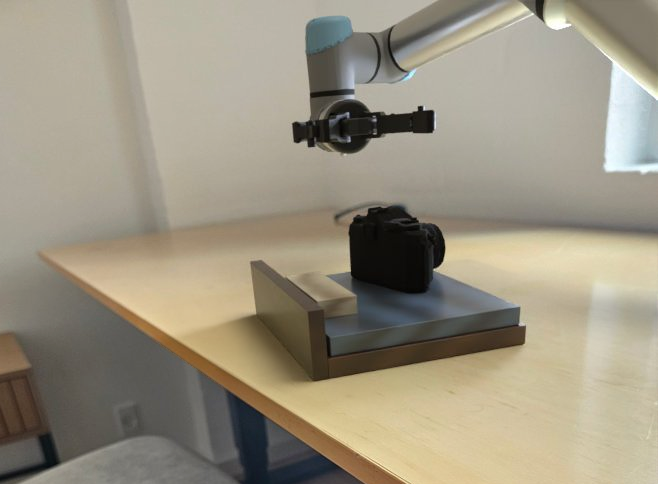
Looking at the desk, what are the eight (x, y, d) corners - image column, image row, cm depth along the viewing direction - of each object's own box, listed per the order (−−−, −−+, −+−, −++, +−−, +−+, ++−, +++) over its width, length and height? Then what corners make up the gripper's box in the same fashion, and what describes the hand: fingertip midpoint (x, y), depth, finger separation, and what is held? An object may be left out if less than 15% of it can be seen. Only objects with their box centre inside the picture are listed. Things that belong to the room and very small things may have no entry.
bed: (416, 289, 94) (416, 239, 91) (525, 343, 70) (529, 277, 67) (256, 313, 89) (249, 261, 86) (313, 381, 65) (307, 311, 61)
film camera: (474, 282, 79) (476, 203, 75) (409, 297, 75) (408, 214, 71) (400, 264, 91) (399, 195, 87) (340, 276, 87) (336, 205, 83)
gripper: (422, 146, 106) (471, 149, 87) (269, 160, 103) (285, 167, 84) (421, 93, 102) (472, 85, 84) (263, 106, 99) (279, 101, 81)
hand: (378, 126), depth 84 cm, fingers open, 13 cm apart
